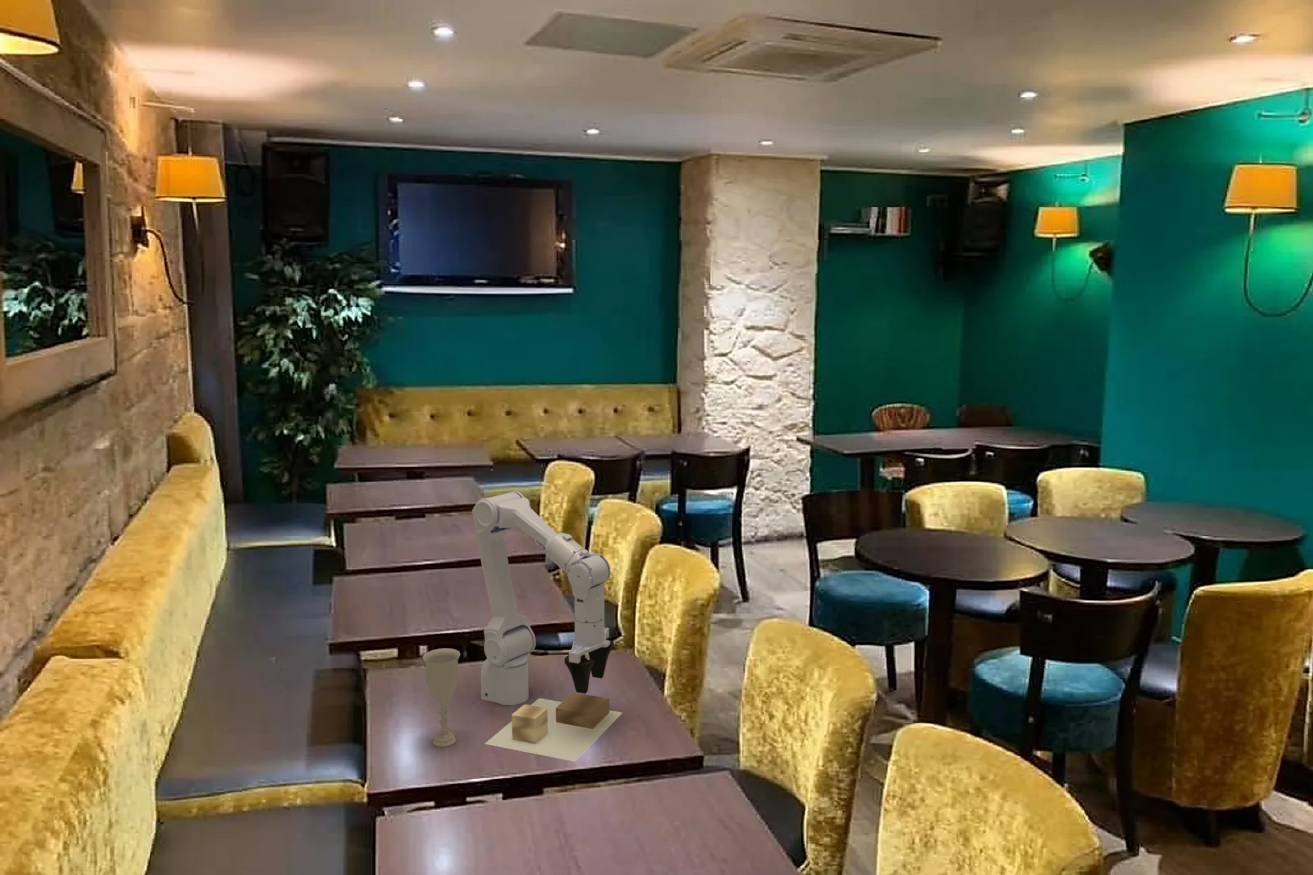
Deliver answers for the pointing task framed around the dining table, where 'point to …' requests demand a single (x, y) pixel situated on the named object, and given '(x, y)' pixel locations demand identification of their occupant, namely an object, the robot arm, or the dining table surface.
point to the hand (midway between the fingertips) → (589, 684)
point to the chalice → (442, 686)
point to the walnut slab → (582, 710)
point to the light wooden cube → (529, 724)
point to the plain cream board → (556, 735)
